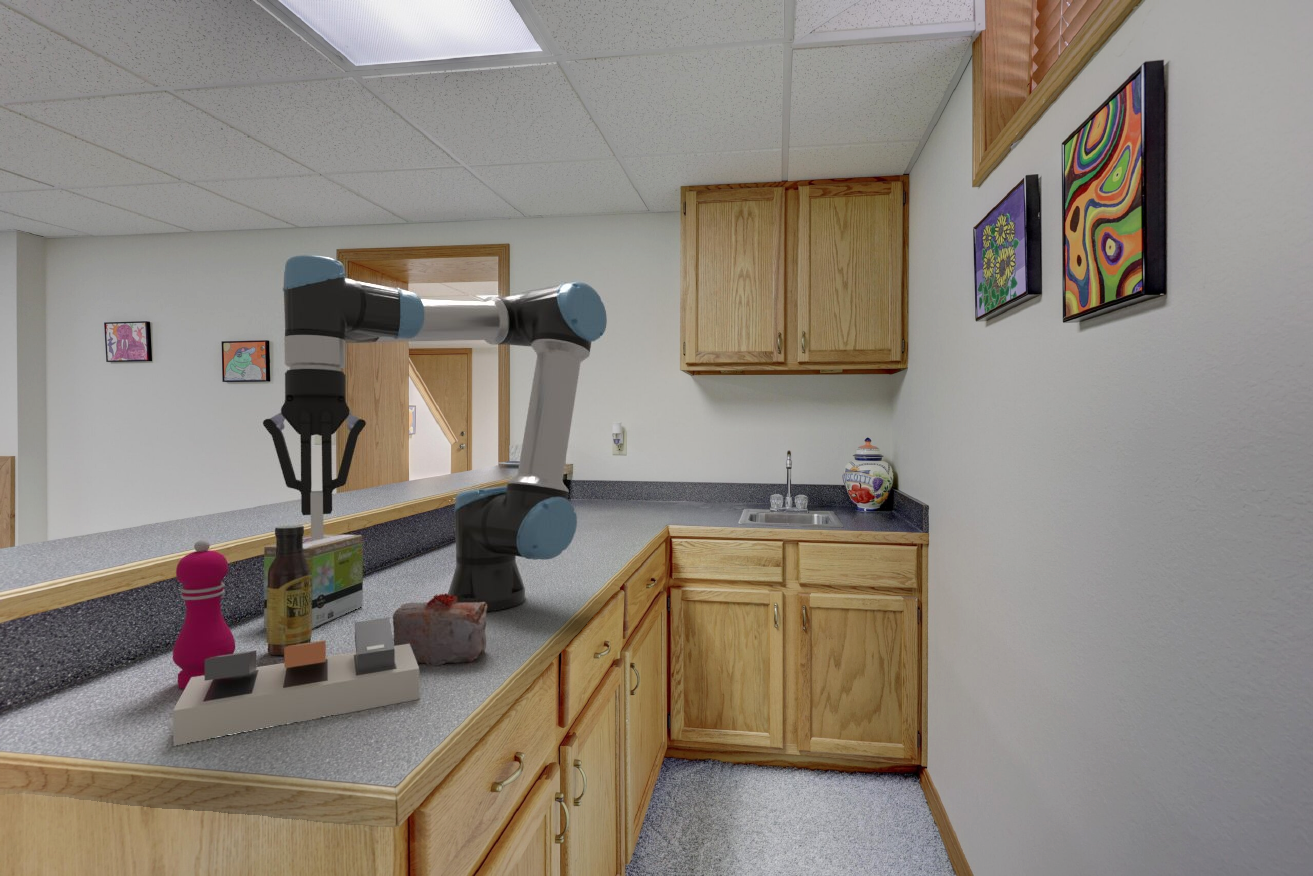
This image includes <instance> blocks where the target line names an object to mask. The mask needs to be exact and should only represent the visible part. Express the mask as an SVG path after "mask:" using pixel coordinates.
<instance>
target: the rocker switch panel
mask: <svg viewBox="0 0 1313 876" xmlns="http://www.w3.org/2000/svg"><path fill="white" fill-rule="evenodd" d="M394 648H395V665H392V666H386V667H380V668H374V669H368V670H362V671H357V659H356V651H353V652H347V653H339V654H335V655H326V661H325V662H321V663H314V664H308V665H302V666H295V667H289V668H284V662H282V663H276V664H275V663H274V664H268V665H261V666H256V670H255V671H253V672H251V673H250V674H245V675H238V676H232V677H226V678H219V679H213V680H207V681H205V675H203V676H197V677H191V679H190V681H189V682H188V684H187V686H186V688H185V690H183V692H182V693H181V695H180V697H179V699H178V701H177V702H176V705H175V706H174V708H173V709H172V730H173V731H172V732H173V734H172V735H173V739H172V740H173V747H177V746H176V745H178V746H183V745H187V743H189V744H191V743H190V742H194V743H197V742H196V741H199V742H203V741H202V740H204V741H206V740H205V739H209V740H211V739H210V738H215V737H217V736H224V735H228V734H234V733H238V732H244V731H250V730H256V729H260V728H266V727H270V726H277V725H282V724H287V723H292V722H298V723H301V721H303V722H307V720H308V721H311V720H312V719H313V720H316V719H315V718H318V719H321V718H320V717H323V716H329V717H332V716H331V715H334V716H337V715H338V714H339V715H343V714H348V713H354V712H358V711H365V710H370V709H375V708H380V707H384V706H390V705H394V704H401V703H406V702H411V701H417V700H421V697H420V695H421V694H420V693H421V691H420V690H421V689H420V688H421V687H420V685H421V683H420V666H419V664H417V661H416V659H415V656H414V654H413V651H412V648H411V646H410V644H404V645H397V646H394ZM313 720H312V721H313ZM287 725H288V724H287ZM282 726H283V725H282ZM277 727H278V726H277ZM256 731H257V730H256ZM215 739H216V738H215ZM182 744H183V745H182Z"/></svg>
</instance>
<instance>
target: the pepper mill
mask: <svg viewBox="0 0 1313 876" xmlns="http://www.w3.org/2000/svg"><path fill="white" fill-rule="evenodd" d="M210 546H211V545H210V542H209V541H208V540H206V539H199V540H197V541H196V542H195V543H194V546H193V548H194V550H195V551H194V552H190V553H188V554H185V556H183V557H182V558H181V559H179V561H178V563H177V565H176V570H175V575H176V576H175V577H176V578H177V580H178V582H180V583H181V584H182V586H183V587H182V588H181V589H180V592H181V596H180V598H181V599H182V600H184V604H185V617H184V622H183V625H182V627H181V630H180V632H179V634H178V636H177V639H176V641H175V644H174V646H173V650H172V661H173V663H174V664H175V666H177V667H179V669H180V670H179V672H178V673H177V687H178V688H179V689H180V690H183V691H184V690H185V688H186V686H187V684H188V682H189V681H190V679H191V677H197V676H203V675H205V659H207V658H211V657H215V656H221V655H227V654H234V653H235V650H236V641H235V637H234V634H233V633H232V631H231V629H230V627H229V626H228V624H227V623H226V621H225V619H224V617H223V614H222V605H221V601H222V595H223V594H225V592H226V591H225V588H224V587H225V583H224V582H222V581H223V579H224V578H226V576H227V574H228V571H229V563H228V560H227V558H226V557H225V556H224V554H222V553H221V552H219V551H215V550H209V549H210Z"/></svg>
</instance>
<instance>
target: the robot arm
mask: <svg viewBox="0 0 1313 876" xmlns="http://www.w3.org/2000/svg"><path fill="white" fill-rule="evenodd" d="M284 264H285V265H284V272H283V273H284V274H283V287H282V292H283V304H284V306H283V307H284V309H283V310H284V337H283V340H284V342H283V344H284V345H283V346H284V365H285V366H286V367H289V369H287V370H286V372H284V402H283V405H282V406H281V409H280V412H279V413H277V414H275V415H274V416H271V417H270V418H266V419H264V420H263V421H262V424H263V427H264V428H265V430H266V431H267V432H268V433H269V434H270V435H271V437H272V441H273V445H274V448H275V451H276V454H277V459H278V461H279V467H280V468H281V473H282V476H283V480H284V483H285V486H286V487H287V488H289V489H293V490H297V491H299V492H300V495H301V496H300V499H301V501H300V502H301V505H300V506H301V510H300V511H301V514H302V516H310V536H311V540H315V539H323V536H324V534H325V532H324V515H331V514H332V511H333V491H334V490H336V489H339V488H341V487H344V486H345V485H346V484H347V481H348V476H349V474H350V469H351V466H352V465H351V464H352V461H353V456H354V453H355V449H356V445H357V442H358V437H359V435H360V433H361V432H362V431H363V429H364V428H365V426H366V424H367V422H366V420H364V419H362V418H359V417H357V416H356V415H354V414H352V413H351V412H350V411H351V410H350V407H349V406H348V404H347V400H346V399H347V397H346V394H347V393H346V392H347V391H346V388H347V387H346V385H347V383H346V377H347V376H346V374H345V373H344V372H343V371H342V370H341V369H344V368H345V367H346V344H359V343H360V344H365V343H367V344H369V343H370V344H371V343H394V342H395V343H398V342H399V343H400V342H434V341H435V342H440V341H441V342H442V341H443V342H446V341H484V342H485V343H487V344H489V345H494V346H495V345H496V346H497V345H500V346H501V345H507V346H517V347H518V346H521V347H531V348H532V350H533V351H534V353H535V354H536V360H535V361H536V362H535V367H534V372H533V379H532V385H531V391H530V398H529V402H528V403H529V404H528V410H527V415H526V420H525V421H526V422H525V428H524V433H523V440H522V445H521V451H520V456H519V457H520V458H519V464H518V467H517V468H518V469H517V474H516V476H514V477H513V478H512V479H510V480H508V482H507V486H505V485H503V486H496V487H495V486H494V487H488V488H487V487H486V488H479V489H478V488H477V489H470V490H463V491H460V492H459V493H457V494H456V496H455V500H454V501H455V504H454V510H453V511H454V527H455V528H454V529H455V566H456V567H455V568H454V569H455V570H454V573H453V576H452V580H451V582H450V585H449V588H448V593H447V594H448V595H450V596H451V595H454V596H456V597H457V603H464V602H468V603H473V602H486V604H487V610H486V612H494V611H501V610H506V609H510V608H513V607H516V606H518V605H521V604H522V603H524V602H525V600H526V588H525V585H524V582H523V579H522V576H521V574H520V571H519V567H518V564H517V560H516V558H517V557H520V558H524V559H526V560H534V561H535V560H543V561H544V560H545V561H546V560H552V559H555V558H557V557H558V556H560V555H561V554H562V553H563V551H565V550H567V549H568V547H569V546H570V545H571V543H572V541H573V540H574V537H575V534H576V531H577V526H578V525H577V524H578V517H577V513H576V512H575V507H574V505H573V504H572V502H570V501H569V500H568V499H569V492H570V491H569V488H568V487H567V486H566V485H565V484H564V481H563V479H564V472H565V466H566V459H567V452H568V446H569V440H570V433H571V427H572V421H573V413H574V408H575V401H576V395H577V387H578V383H579V381H578V380H579V376H580V369H581V363H582V362H583V361H585V360H586V359H588V358H589V357H590V353H591V347H592V342H595V341H597V340H599V339H600V338H601V337H602V336H603V335H604V334H605V331H606V330H607V329H606V328H607V324H608V321H607V320H608V319H607V316H608V315H607V311H606V308H605V305H604V302H603V301H602V298H601V296H600V295H599V293H598V292H597V291H596V289H594V288H593V287H592V286H591V285H589V284H587V283H585V282H582V281H572V282H563V283H561V284H557V285H553V286H547V287H542V288H537V289H531V290H526V291H523V292H520V293H515V294H511V295H505V296H504V295H503V296H488V297H486V298H485V299H483V300H482V301H475V300H474V301H473V300H449V299H447V300H446V299H444V300H443V299H442V300H441V299H421V297H420V296H419V295H418V294H417V293H416V292H414V291H413V292H412V291H409V290H406V289H403V288H400V287H391V286H386V285H379V284H375V283H369V282H362V281H359V280H358V281H357V280H354V279H351V278H348V277H347V274H346V270H345V266H344V264H343V263H342V262H341V261H339V260H337V259H334V258H331V257H327V256H323V255H322V256H321V255H313V254H300V255H299V254H298V255H295V256H291V257H290V258H289V259H287V260H286V261H285V263H284ZM285 420H286V421H287V423H289V425H290V426H291V428H293V430H294V431H295V433H297V434H298V435H300V437H299V438H300V479H297V478H296V474H295V470H294V467H293V464H292V460H291V457H290V453H289V450H288V446H287V443H286V440H285V436H284V433H283V432H282V431H283V430H284V429H285V422H284V421H285ZM346 420H347V425H346V429H348V430H349V433H348V435H347V440H346V442H345V446H344V451H343V455H342V459H341V462H340V466H339V470H338V473H337V478H333V456H332V455H333V454H332V451H333V449H332V447H333V445H332V443H333V442H332V435H334V434H335V433H336V432H337V431H338V429H339V428H340V427H341V426H342V424H344V422H345V421H346ZM316 435H317V436H320V437H321V484H322V485H321V489H322V490H312V488H313V487H312V486H313V485H312V482H313V481H312V436H316Z"/></svg>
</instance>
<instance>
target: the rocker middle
mask: <svg viewBox="0 0 1313 876" xmlns="http://www.w3.org/2000/svg"><path fill="white" fill-rule="evenodd" d="M326 644H327V643H326V640H318V641H311V642H310V643H304V644H297V645H290V646H287V647H285V648H284V655H283V656H284V657H283V659H284V660H283V661H284V662H283V663H284V668H289V667H295V666H302V665H308V664H314V663H321V662H325V661H326V656H327V651H326V650H327V649H326Z"/></svg>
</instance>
